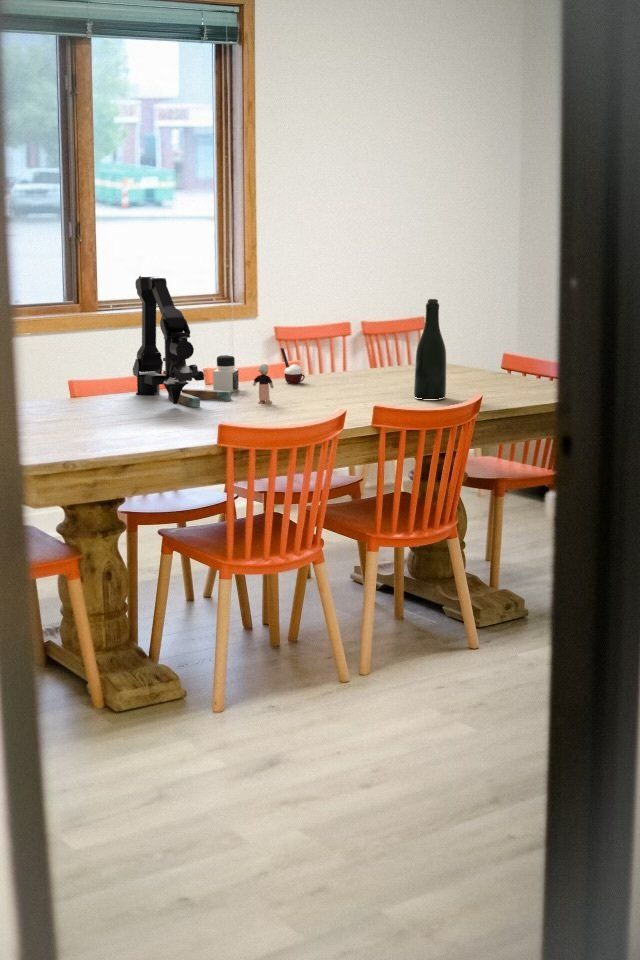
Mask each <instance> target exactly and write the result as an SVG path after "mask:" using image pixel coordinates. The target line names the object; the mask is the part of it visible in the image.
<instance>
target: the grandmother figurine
mask: <svg viewBox="0 0 640 960" xmlns="http://www.w3.org/2000/svg"><path fill="white" fill-rule="evenodd" d="M257 371H258V372H259V373H260V374H259V375H258V376H255V378H254V379H253V383H252V385H253V386H254V387H256V386H257V384H258V399H259V401H258V404H264V405H265V404H266V405H268V404H269V403H271V404H273V401H272V400H271V399H270V398H271V397H270V389H274V384H273V380H272V378H271V377H270V376H269V375H267V374H268V371H269V365H268V364H266V363H263V364H261V365H259V367H258V370H257Z"/></svg>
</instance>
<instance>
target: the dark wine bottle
mask: <svg viewBox="0 0 640 960" xmlns="http://www.w3.org/2000/svg"><path fill="white" fill-rule="evenodd" d="M424 319H425V321H424V327H423V331H422V334H421V336H420V338H419V341H418V344H417V348H416V353H415V364H414V365H415V366H414V385H413V386H414V387H413V388H414V389H413V391H414V392H413V395H414V396H415V397H417V398H422V399H439V398H443V397H445V396H446V395H447V393H446V392H447V348H446V345H445V341H444V338H443V335H442V332H441V328H440V304H439V300H438V299H437V298H428V299H427V302H426V303H425V318H424ZM414 396H413V397H414ZM415 397H414V398H415ZM445 398H446V397H445Z"/></svg>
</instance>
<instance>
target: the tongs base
mask: <svg viewBox="0 0 640 960" xmlns="http://www.w3.org/2000/svg"><path fill="white" fill-rule="evenodd" d="M181 392H182V393H185V394H189V395H192V396H195V397H198V398H200V400H210V401H227V402H230V401H232V392H231V391H219V390H213V389H203V388H201V389H198V388H196V389H195V388H183V389H182V391H181ZM167 397H168V398H167V399H169V393H168V392H167Z"/></svg>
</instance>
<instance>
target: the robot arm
mask: <svg viewBox="0 0 640 960" xmlns="http://www.w3.org/2000/svg"><path fill="white" fill-rule="evenodd" d="M167 285H168V284H167V279H166V277H163V276H159V275H157V274H156V275H139V276H138V278H136V279H135V289H136V293H137V296H138V297H139V299H140V301H141V346H140V347H139V349H138V351H137V352H136V359H135V361H134V364H133V366H132V375H133V376H135V377H136V381H137V382H136V383H137V384H136V385H137V392H135V395H143V396H144V395H145V396H146V395H148V396H155V395H156V394H159V393H160V385H163V386H164V389H166V391H167V394H168V393H169V396H170V398H171V400H170V401H172V404H173V405H177V404H178V399H179V396H180V393H181V392H182V389H184V387H185V386H186V385H188V384H189V382H191V381H193V379H194V380H195V381H197V382H198V381H204V380H205V373H204V372H203V371H202V370H200V369H198V365H197V364H194V363H193V364H190V365H187V360H189V359H190V358H191V357H192V356H193V354H194V352H195V351H194V349H195V348H194V346H193V344H192V343H191V341H189V340H188V338H191V330H190V326H189V324H188V322H187V319H186V318H185V316H184V314H183V313H182V311H181V310H179V309H178V308H176V306H175V304H174V301H173V299H172V296H171V294H170V291H169V288H168V286H167ZM157 307H158V310H159V312H160V315H161V316H160V321H159V325H160V326H159V327H160V330H161V332H162V334H163V340H164V357H162V353H161V352H160V351H159V348H157ZM163 365H164V366H165V367H164V370H163ZM162 373H163V374H162Z"/></svg>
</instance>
